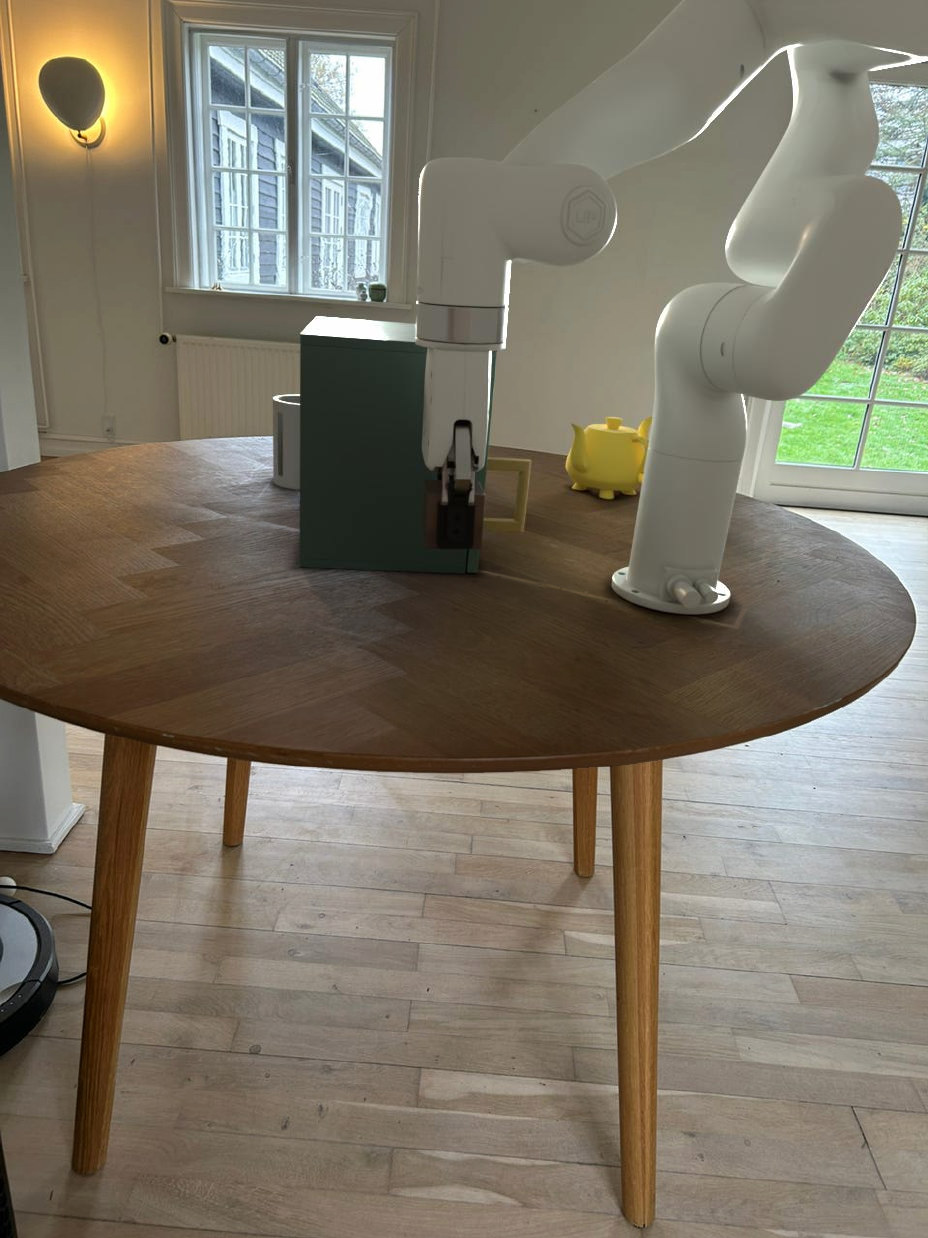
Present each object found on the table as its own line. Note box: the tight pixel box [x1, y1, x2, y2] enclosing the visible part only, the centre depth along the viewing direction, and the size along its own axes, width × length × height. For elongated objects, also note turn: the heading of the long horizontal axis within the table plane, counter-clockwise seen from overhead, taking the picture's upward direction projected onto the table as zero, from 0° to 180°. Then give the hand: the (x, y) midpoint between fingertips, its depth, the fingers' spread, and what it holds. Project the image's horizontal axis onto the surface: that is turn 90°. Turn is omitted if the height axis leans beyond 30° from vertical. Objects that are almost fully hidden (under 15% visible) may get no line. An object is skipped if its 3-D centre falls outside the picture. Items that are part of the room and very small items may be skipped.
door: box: [465, 350, 532, 574], centre depth 102 cm, size 6×26×24 cm, turn 6°
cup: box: [272, 393, 300, 491], centre depth 123 cm, size 9×9×12 cm
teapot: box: [565, 416, 653, 500], centre depth 132 cm, size 20×15×12 cm
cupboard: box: [299, 316, 467, 575], centre depth 100 cm, size 18×26×24 cm
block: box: [423, 480, 486, 550], centre depth 77 cm, size 5×5×5 cm
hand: (451, 535), depth 78 cm, fingers closed on block, 5 cm apart
